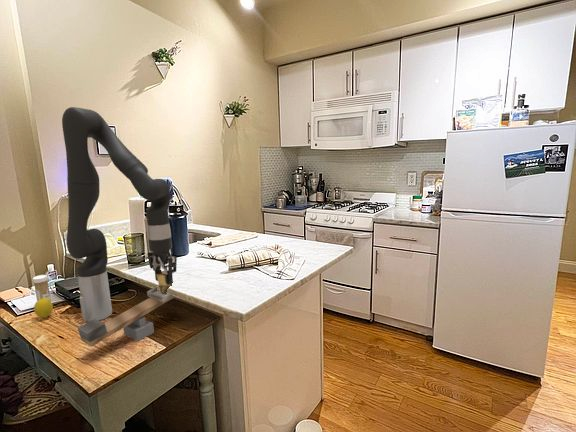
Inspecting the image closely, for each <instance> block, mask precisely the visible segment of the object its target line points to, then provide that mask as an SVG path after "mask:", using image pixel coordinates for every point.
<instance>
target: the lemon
mask: <svg viewBox="0 0 576 432" xmlns="http://www.w3.org/2000/svg"><path fill="white" fill-rule="evenodd" d="M34 303H35V304H34V306H33V309H34V310H33V311H34V314H35V315H36V317H39V318H44V319H46V318H47V317H48V316H50V315H51V314H52V313H53V309H54V307H53V306H54V305H53V302H52V300H51V301H50V300H49V299H46V298H41V299H40V300H38V301H37V300H36V302H34Z"/></svg>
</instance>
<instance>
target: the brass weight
mask: <svg viewBox="0 0 576 432" xmlns="http://www.w3.org/2000/svg"><path fill="white" fill-rule="evenodd" d="M165 275H166V274H165V271H164V270H161V272H159V273H157V275H156V276H157V280H158V281H157V283H158V286H159V287H160V291H161V293H162V294H167V293H166V292H167V289H168V288H169V287H170V286H172V283H171V284H169V285H168V284H166V276H165Z"/></svg>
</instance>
